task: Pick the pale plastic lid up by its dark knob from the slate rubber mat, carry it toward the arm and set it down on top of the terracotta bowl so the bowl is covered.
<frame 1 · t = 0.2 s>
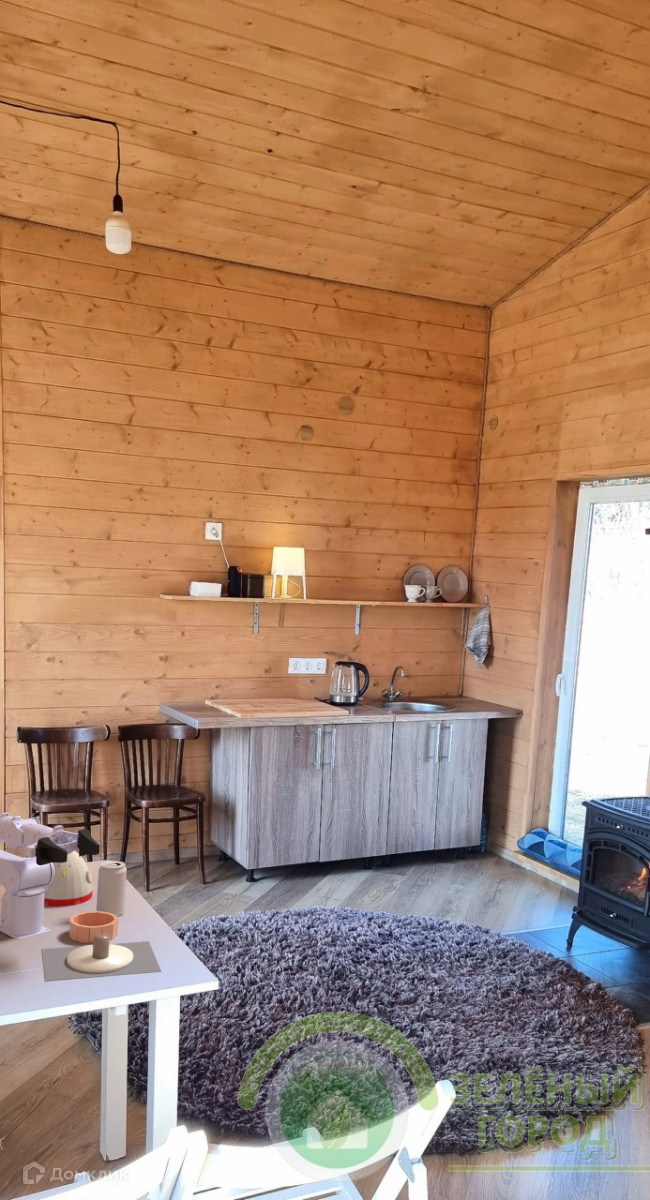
hand: (82, 853, 181), 21 cm above the table, tool horizontal, fingers open, 7 cm apart
kitchen timer: (62, 897, 218), on the table
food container: (65, 877, 233), on the table
lid: (100, 960, 180), point 1 cm above the table, touching mat
bowl: (93, 937, 193), on the table
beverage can: (109, 916, 207), on the table
mat: (100, 962, 180), on the table
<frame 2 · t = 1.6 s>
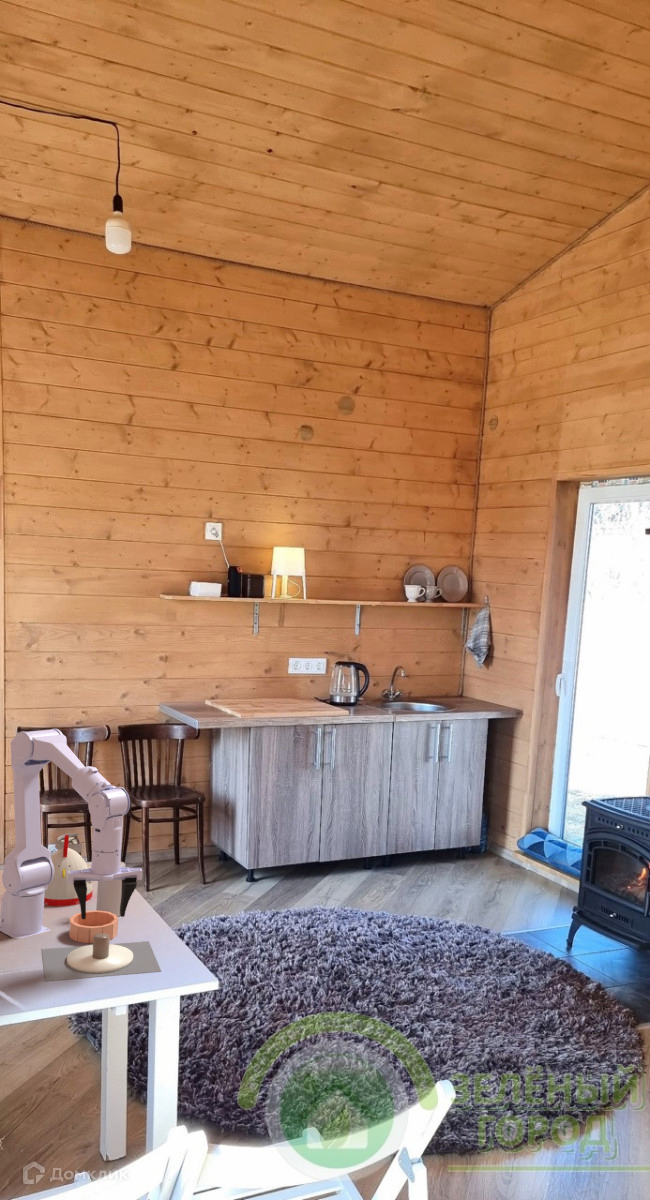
hand: (102, 916, 180), 9 cm above the table, tool pointing down, fingers open, 7 cm apart
nothing on the table moved.
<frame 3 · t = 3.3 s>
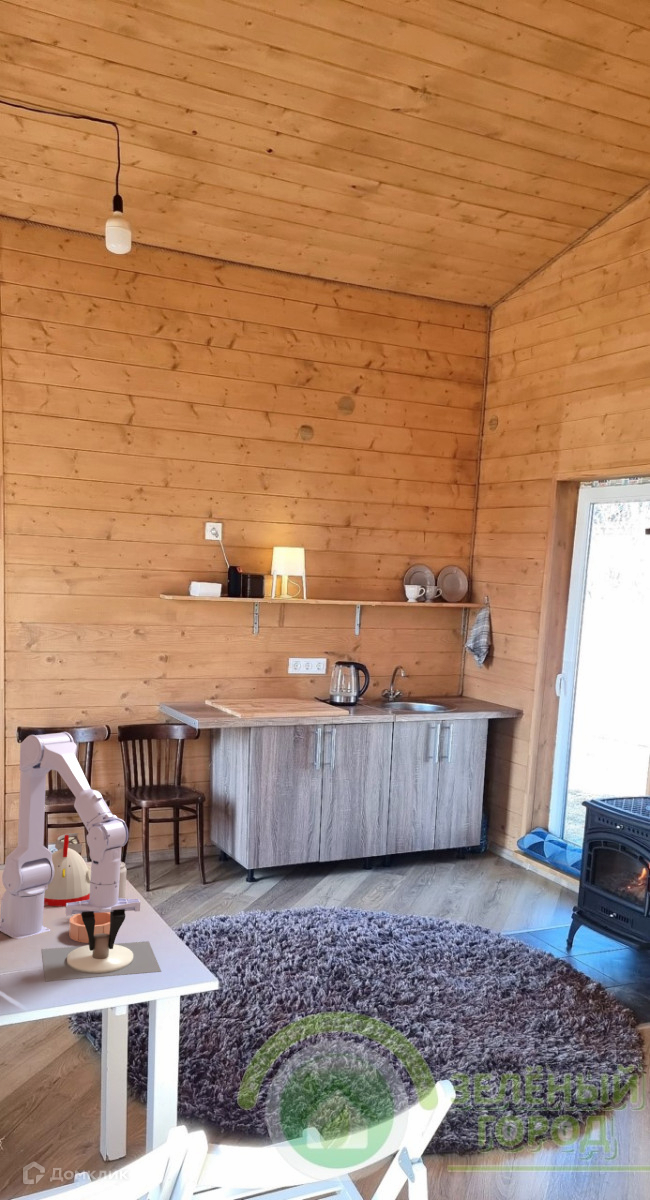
hand: (100, 948, 180), 3 cm above the table, tool pointing down, fingers closed on lid, 3 cm apart
lid: (100, 959, 180), point 1 cm above the table, touching gripper, mat
everything else where it was.
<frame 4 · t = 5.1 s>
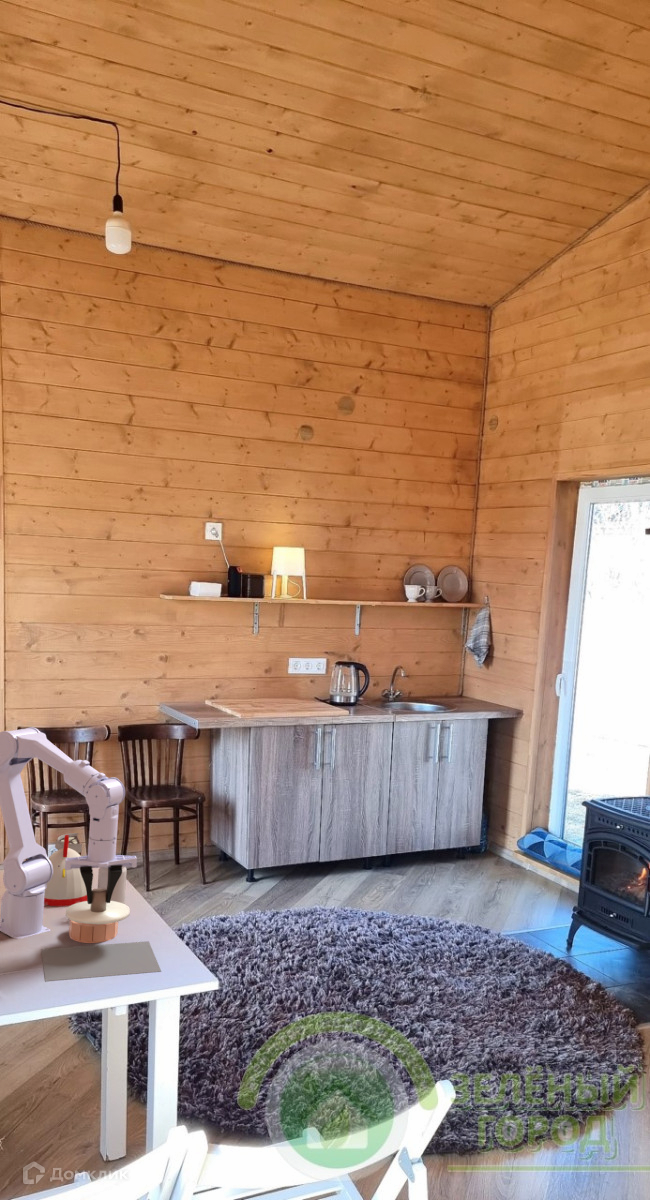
hand: (98, 902, 187), 10 cm above the table, tool pointing down, fingers closed on lid, 3 cm apart
lid: (97, 913, 186), point 7 cm above the table, touching gripper
everything else where it was.
when the fingers open (8 cm above the table, at t = 6.7 s): lid drops 1 cm, resting on bowl.
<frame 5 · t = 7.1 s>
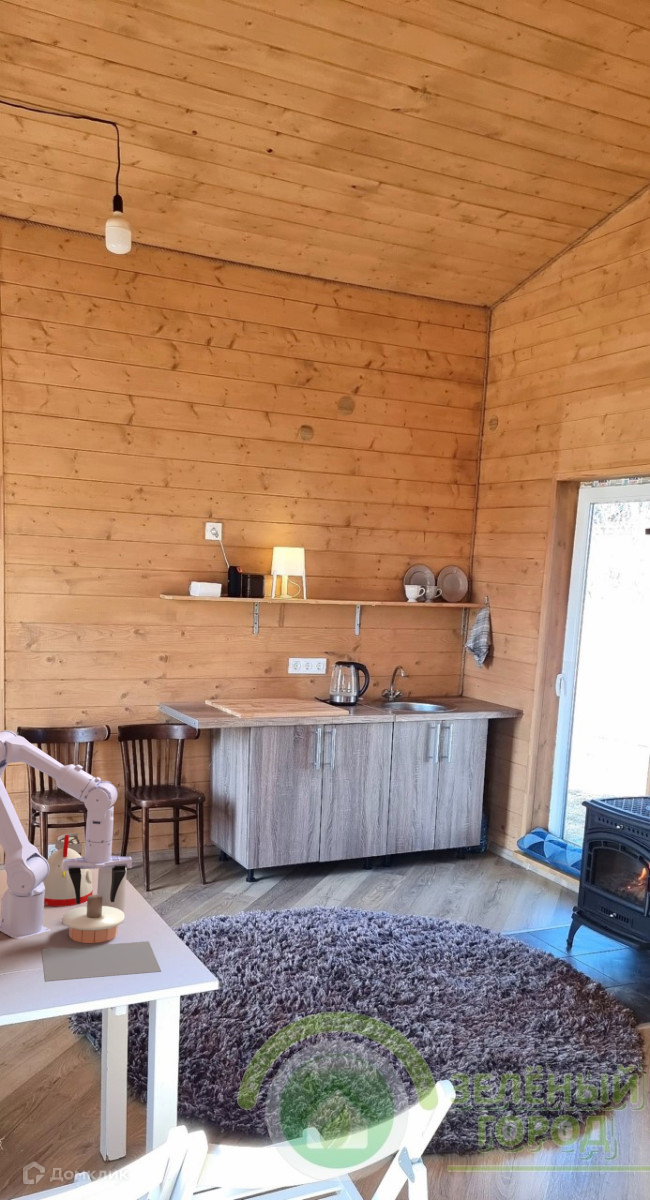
hand: (95, 901, 193), 8 cm above the table, tool pointing down, fingers open, 7 cm apart
lid: (93, 919, 193), point 4 cm above the table, touching bowl
bowl: (93, 937, 193), on the table, touching lid
everything else where it was.
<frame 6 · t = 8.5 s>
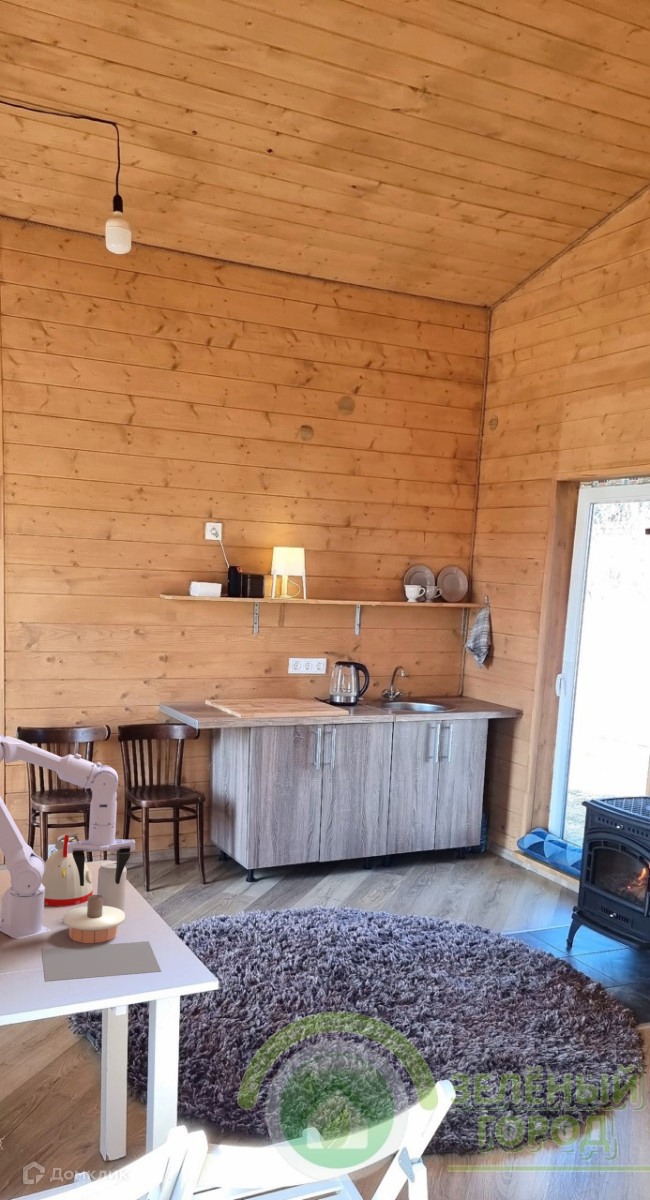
hand: (99, 883, 197), 10 cm above the table, tool pointing down, fingers open, 7 cm apart
nothing on the table moved.
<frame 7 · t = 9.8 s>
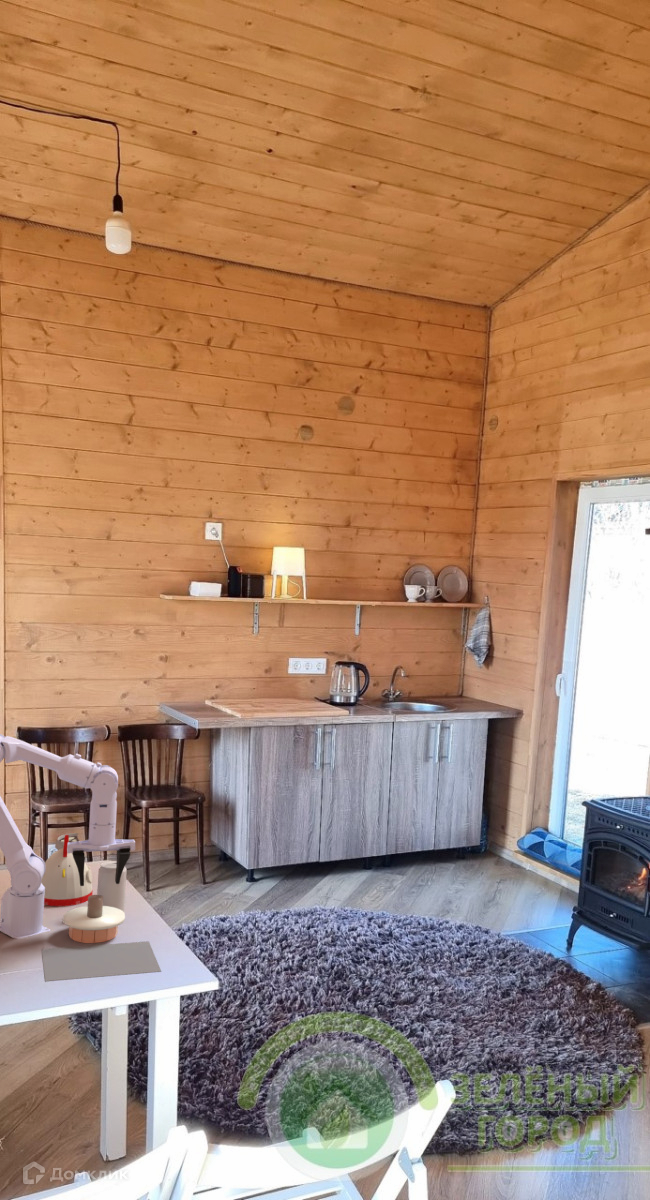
hand: (99, 883, 197), 10 cm above the table, tool pointing down, fingers open, 7 cm apart
lid: (94, 919, 193), point 4 cm above the table
bowl: (93, 937, 193), on the table
everything else where it was.
at the end: lid 0.1 cm off-centre on the bowl, point 4.0 cm above the bowl's base; lid tilted 0°; the gripper is holding nothing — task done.
